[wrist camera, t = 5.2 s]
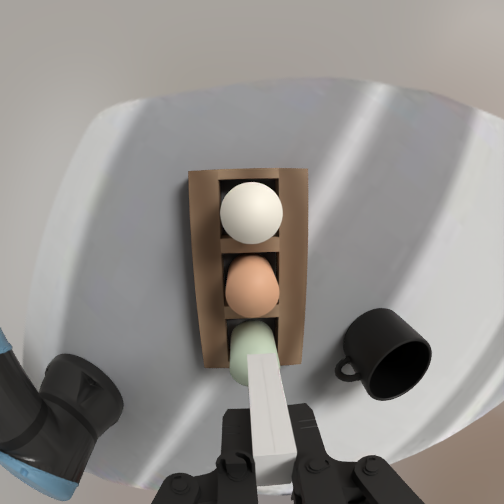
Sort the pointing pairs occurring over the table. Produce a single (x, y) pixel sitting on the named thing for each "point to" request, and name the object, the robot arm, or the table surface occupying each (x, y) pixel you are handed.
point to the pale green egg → (249, 347)
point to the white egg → (251, 213)
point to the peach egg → (251, 285)
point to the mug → (384, 354)
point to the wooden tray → (215, 244)
